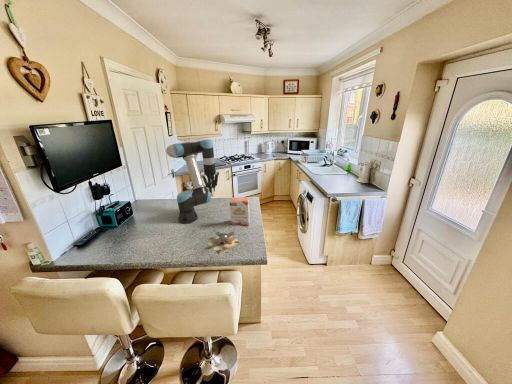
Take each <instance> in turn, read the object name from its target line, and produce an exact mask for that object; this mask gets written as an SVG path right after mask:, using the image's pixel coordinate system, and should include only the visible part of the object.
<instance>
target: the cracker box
mask: <svg viewBox="0 0 512 384" xmlns="http://www.w3.org/2000/svg"><path fill="white" fill-rule="evenodd" d="M229 213H230V224H231V225H239V226H243V227H244V226H247V227H249V226H250V221H251V220H250V219H251V217H250V214H251V213H250V198H241V197H239V198H235V197H234V198H233V197H230V199H229Z"/></svg>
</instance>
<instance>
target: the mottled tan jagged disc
mask: <svg viewBox="0 0 512 384" xmlns="http://www.w3.org/2000/svg"><path fill="white" fill-rule="evenodd" d="M225 233H226V234H228V233H229V232H225ZM218 238H220V237H219V236H217V237H215V238H212V239H210V240H209V241H208V240H207V241H206V244H208V245H209V246H210V248H212V249H213V250H214V251H215V252H216V253H217V254H219V255H222V254H224V253H225V252H227V251H229V250H231V249H233V248H235V247H238V245H241V244H242V242H241V241H240V240H239V239H237V238H236V237H235V236H234V235H233V236H231V237H229V238H228V239H229V240H230V241H232V244H231V245H229V244H228V243H227V244H221V243H220V242H219V243H217V244H215V245H213V244H212V241H214V240H216V239H218Z"/></svg>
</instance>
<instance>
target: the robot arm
mask: <svg viewBox="0 0 512 384" xmlns="http://www.w3.org/2000/svg"><path fill="white" fill-rule="evenodd" d="M214 150H215V149H214V143H213V140H212V139H208V138H207V139H201V140H197V141H191V142H189V141H188V142H180V143H179V142H178V143H173V144H170V145H168V146H167V148H166V150H165V151H166V154H167V156H168V157H170V158H172V159H181V158H182V160H183V161H185V165H186V166H187V169H188V173H189V177H190V180H191V184H192V186H193V188H192V191H191V190H184V191H182V192H179V193H178V194H177V195H176V201H177V206H178V212H179V213H178V217H177V218H178V222H179V223H180V224H182V225H185V224H186V225H187V224H191V223H194V222H196V221H197V220H198V219H199V218H198V217H199V216H198V213H197V212H196V210H195V207H196V206H201V205H204V204H208V203H210V202H211V201H212V198H215V195H216V194H215V192H216V187H217V186H218V180H219V174H220V172H219V171H217V170H216V163H215V153H214V152H215V151H214ZM199 154H201V156H202V164H203V174H201V172H200V168H199V165H198V162H197V158H198V155H199Z"/></svg>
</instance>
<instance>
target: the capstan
mask: <svg viewBox="0 0 512 384" xmlns="http://www.w3.org/2000/svg"><path fill="white" fill-rule="evenodd" d="M226 233H227V232H222V233H221V232H220V231H216V232H215V235H216V236H217V237H220V238H218V239H216V240H214V241H212V244H213V245H215V244H217V243H219V242H220V243H221V244H227V243H228V244H229V245H231V244H232V241H230V240H229V239H228V238H229V237H231V236H233V237H234V235H235V232H234V231H231V232H228V234H226Z"/></svg>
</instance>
